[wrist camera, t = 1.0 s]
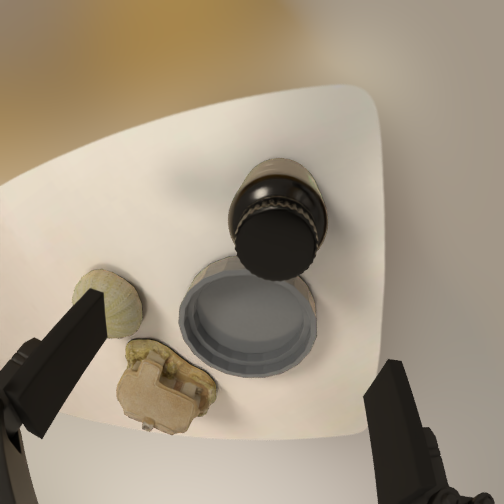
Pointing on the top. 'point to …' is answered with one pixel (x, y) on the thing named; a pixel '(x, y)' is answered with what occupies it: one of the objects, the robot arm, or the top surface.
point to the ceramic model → (163, 388)
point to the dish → (247, 320)
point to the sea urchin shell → (114, 301)
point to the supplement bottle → (278, 220)
